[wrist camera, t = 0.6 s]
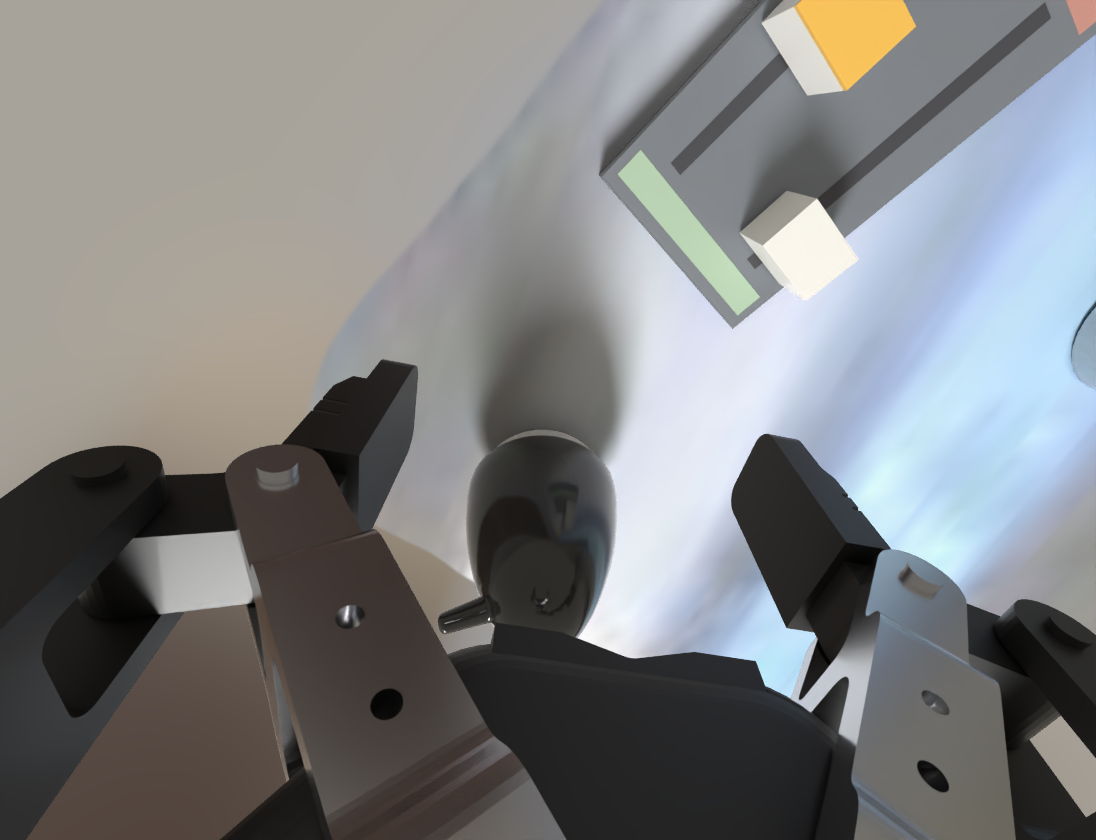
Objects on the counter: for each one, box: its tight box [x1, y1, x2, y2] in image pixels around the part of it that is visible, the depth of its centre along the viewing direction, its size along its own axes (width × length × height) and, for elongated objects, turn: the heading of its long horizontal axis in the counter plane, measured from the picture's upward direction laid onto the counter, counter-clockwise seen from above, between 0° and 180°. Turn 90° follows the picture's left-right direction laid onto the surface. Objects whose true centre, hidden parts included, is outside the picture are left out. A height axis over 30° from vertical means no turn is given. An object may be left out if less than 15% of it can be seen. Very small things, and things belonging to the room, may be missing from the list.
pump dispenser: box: [438, 430, 617, 638], centre depth 31 cm, size 10×10×15 cm
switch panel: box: [599, 0, 1096, 329], centre depth 25 cm, size 22×12×2 cm, turn 136°
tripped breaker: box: [762, 0, 916, 96], centre depth 21 cm, size 3×4×4 cm
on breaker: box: [740, 191, 859, 301], centre depth 26 cm, size 3×4×4 cm
